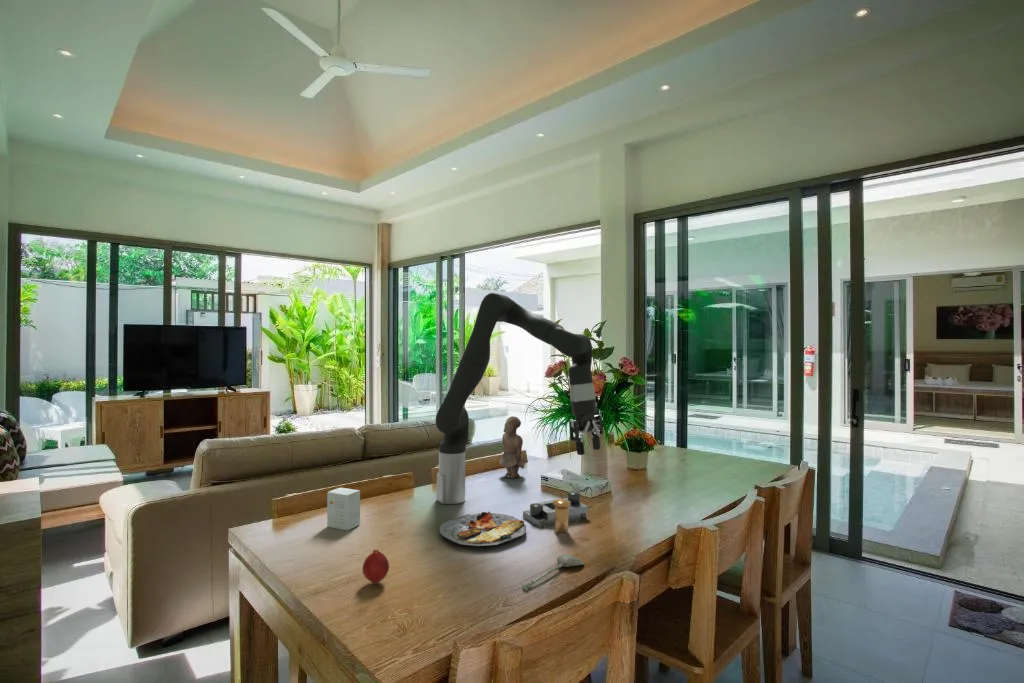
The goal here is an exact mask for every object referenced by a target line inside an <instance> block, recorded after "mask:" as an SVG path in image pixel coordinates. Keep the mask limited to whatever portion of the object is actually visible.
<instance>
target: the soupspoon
mask: <svg viewBox="0 0 1024 683" xmlns="http://www.w3.org/2000/svg"><path fill="white" fill-rule="evenodd" d="M556 562H557V565H555V566H554V567H552V568H550V569H549V570H547V571H546V572H544V573H542V574H541V575H539V576H538V577H536V578H535V579H534V580H531V581H530V582H528V583H526V584H522V585H521V589H522V588H523V589H522V590H524V589H525V590H524V591H526V590H528V591H529V590H530V588H531V587H532V586H533V585H535V584H536V583H537V582H538V581H540V580H542V579H543V578H545V577H546V576H548V575H550V574H551V573H552V572H554V571H556V570H559V569H561V568H563V567H567V568H568V567H574V566H575V567H576V566H582V565H583V566H584V565H585V563H584V562H583V561H582V559H580V558H579V557H576V556H575V555H572V554H563V555H559V556H558V557H557V558H556Z"/></svg>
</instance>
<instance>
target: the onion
mask: <svg viewBox="0 0 1024 683" xmlns="http://www.w3.org/2000/svg"><path fill="white" fill-rule="evenodd" d="M389 563H390V562H389V561H388V558H387V556H385V555H384V553H382V552H381V551H380V550H379V549H377V548H374V549H373V550H372V553H370V554H368V556H366V558H365V559H364V561H363V564H362V574H363V576H364V578H365V579H366V580H368V581H369V582H371V583H372V584H374V585H377V584H379V583H380V582H381V581H382V580H384V578H385V577H386V576H387V574H388V572H389V569H390V564H389Z"/></svg>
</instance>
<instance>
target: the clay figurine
mask: <svg viewBox="0 0 1024 683" xmlns="http://www.w3.org/2000/svg"><path fill="white" fill-rule="evenodd" d="M521 425H522V422H521V420H520V418H519V417H517V416H509V417H507V419H506V420H505V423H504V427H503V428H504V429H503V434H502V437H501V438H502V450H503V453H502V456H501V458H500V459H499V461H498V463H499V465H501V466H502V467H505V469H506V473H505V475H504V476H509V477H510V478H509V477H508V478H509V479H516V478H519V477H520V476H521V475H520V474H519V473H518V472H519V469H520V468H521V469H524V468H525V464H524V461H523V458H522V448H523V444H524V443H523V442H524V440H523V438H522V436H520V434H519V435H518V433H517V430H518V429H519V428H520V427H521ZM515 477H516V478H515Z"/></svg>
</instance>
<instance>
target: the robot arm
mask: <svg viewBox="0 0 1024 683" xmlns="http://www.w3.org/2000/svg"><path fill="white" fill-rule="evenodd" d="M475 319H476V320H475V321H474V325H473V328H472V331H471V334H470V336H469V339H468V342H467V344H466V346H465V349H464V351H463V354H462V356H461V357H460V361H459V363H458V365H457V369H456V372H455V374H454V376H453V379H452V381H451V384H450V387H449V389H448V392H447V394H446V395H445V397H444V399H443V401H442V403H441V404H440V407H439V409H438V411H437V413H436V416H435V426H436V428H437V430H438V431H439V432H441V433H443V434H444V436H443V437H442V440H441V441H440V442H439V444H438V446H439V447H438V472H436V496H435V497H436V499H435V500H436V501H437V502H439V503H440V504H441V505H456V504H462V503H465V501H466V451H467V450H466V448H467V444H468V441H469V425H470V424H469V422H470V421H469V420H470V418H469V413H468V410H467V409H466V408H465V404H466V402H467V400H468V399H469V397H470V396H471V394H472V393H473V392H474V390H476V387H478V385H479V384H480V382H481V381H482V379H483V378H484V376H485V372H486V371H487V368H488V365H489V363H490V359H491V339H492V334H493V332H494V329H495V326H496V324H497V322H499V323H502V322H503V323H506V324H510V325H513V326H516V327H518V328H521V329H522V330H523V331H526V332H527V333H528V334H529V335H531V336H532V337H533V338H536V339H538V340H539V341H541V342H544V343H545V344H547V345H550V346H552V347H553V348H554V349H556V350H557V351H559V352H560V353H562V354H563V355H565V356H568V357H571V360H572V361H571V366H569V368H568V379H569V380H568V381H569V396H570V405H571V413H572V415H573V416H574V417H575V420H569V421H568V427H569V439H570V440H569V441H571V442H574V443H575V446H576V448H575V449H576V454H577V455H578V456H584V455H585V454H586V451H585V445H584V444H585V443H584V439H585V436H586V435H587V434H588V433H589V434H590V435H591V437H592V438H591V440H592V448H593V451H594V450H595V451H597V450H598V451H599V450H600V449H601V440H600V437H601V435H603V434H604V427H603V421H602V415H600V414H597V412H598V409H597V400H596V392H595V387H594V383H593V374H592V363H593V362H592V361H593V346H592V345H593V344H592V342H591V340H590V338H589V337H588V336H587V335H586V334H583V333H573V332H571V331H569V330H566V329H565V328H564V326H562V325H560V324H558V323H557V322H554V321H552V320H550V319H548V318H546V317H544V316H541V315H538V314H536V313H534V312H532V311H529V310H527V309H526V308H525V307H523V306H521V305H520V304H518V303H517V302H516V301H514V300H513V299H511V298H510V297H509V296H507V295H505V294H501V293H499V292H490V293H488V294H486V295H485V296H484V297H483V298H482V300H481V302H480V304H479V308H478V311H477V316H476V318H475Z"/></svg>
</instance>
